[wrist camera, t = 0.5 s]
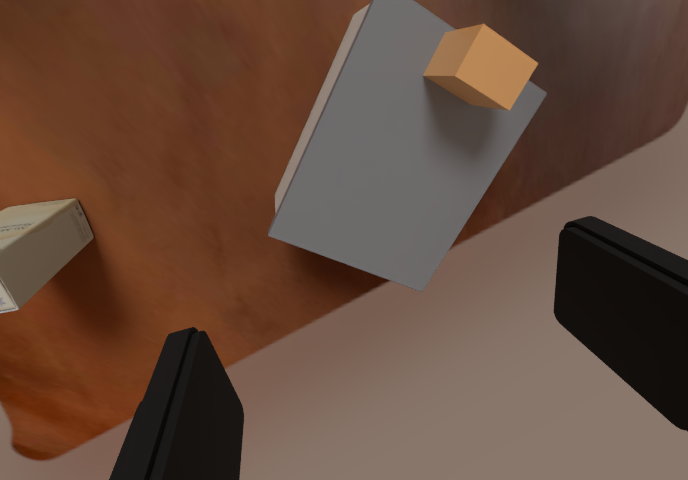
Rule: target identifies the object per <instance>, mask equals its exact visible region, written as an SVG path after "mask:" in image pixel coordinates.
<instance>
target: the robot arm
mask: <svg viewBox="0 0 688 480" xmlns="http://www.w3.org/2000/svg"><path fill="white" fill-rule="evenodd" d="M554 314H555V317H556V319H557V320H558V322H559V323H560V324H561V325H562V326H563V327H564V328H566V329H567V330H568V331H569V332H570V333H571V334H572V335H573V336H575V337H576V338H577V339H578V340H579V341H580V342H582V344H584V345H585V346H586V347H587V348H588V349H589V350H590V351H591V352H593V353H594V354H595V355H596V356H597V357H598V358H599V359H600V360H602V361H603V362H604V363H605V364H606V365H607V366H608V367H609V368H611V369H612V370H613V371H614V372H615V373H616V374H617V375H619V376H620V377H621V378H622V379H623V380H624V381H625V382H626V383H627V384H629V385H630V386H631V387H632V388H633V389H634V390H635V391H636V392H638V393H639V394H640V395H641V396H642V397H643V398H644V399H645V400H647V401H648V402H649V403H650V404H651V405H652V406H653V407H654V408H656V409H657V410H658V411H659V412H660V413H661V414H662V415H663V416H665V417H666V418H667V419H668V420H669V421H670V422H671V423H672V424H674V425H675V426H676V427H678V428H680V429H682V430H687V431H688V260H686V259H684V258H682V257H680V256H678V255H675V254H673V253H671V252H669V251H667V250H665V249H663V248H660V247H658V246H656V245H654V244H651V243H650V242H647V241H645V240H643V239H641V238H639V237H637V236H635V235H632V234H630V233H628V232H626V231H624V230H622V229H619V228H617V227H615V226H613V225H611V224H608V223H606V222H604V221H602V220H600V219H598V218H596V217H592V216H588V217H584V218H581V219H578V220H574V221H570V222H568V223H566V224H565V226H564V229H563V230H561V232H560V235H559V246H558V261H557V273H556V288H555V301H554ZM243 424H244V413H243V407H242V404H241V402H240V400H239V398H238V396H237V394H236V392H235V390H234V388H233V386H232V384H231V382H230V379H229V377H228V376H227V374H226V371H225V369H224V367H223V365H222V363H221V361H220V359H219V357H218V355H217V353H216V351H215V349H214V347H213V345H212V343H211V341H210V339H209V337H208V335H207V334H206V332H205V331H199V332H198V330H197V329H196V328H194V327H192V328H188V329H184V330H181V331H177V332H174V333H171V334H169V335H168V336H167V338H166V341H165V344H164V346H163V349H162V351H161V354H160V357H159V359H158V362H157V365H156V367H155V370H154V372H153V375H152V378H151V380H150V383H149V385H148V388H147V391H146V393H145V396H144V398H143V401H141V402H140V404H139V406H138V408H137V410H136V412H135V415H134V417H133V420H132V423H131V425H130V428H129V430H128V433H127V435H126V438H125V441H124V443H123V446H122V448H121V451H120V453H119V456H118V458H117V461H116V463H115V466H114V469H113V471H112V474H111V476H110V479H109V480H239V475H240V463H241V450H242V436H243Z"/></svg>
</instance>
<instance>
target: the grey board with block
mask: <svg viewBox="0 0 688 480" xmlns="http://www.w3.org/2000/svg"><path fill="white" fill-rule="evenodd" d="M537 65H538V63H537V62H536V61H535V60H533V59H532V58H530V57H529V56H528V55H526V54H525V53H524V52H522V51H521V50H519V49H518V48H517V47H515V46H514V45H512V44H511V43H510V42H508V41H507V40H506V39H504V38H503V37H501V36H500V35H499V34H497V33H496V32H494V31H493V30H492V29H490V28H489V27H488V26H486V25H485V24H480V25H476V26H471V27H467V28H462V29H458V30H455V29H454V28H453V27H451V26H450V25H448V24H447V23H445V22H444V21H442V20H441V19H440V18H438V17H437V16H435V15H434V14H432V13H431V12H429V11H428V10H427V9H425V8H424V7H422V6H421V5H419V4H418V3H417V2H415V1H414V0H371V2H370V4H369V7H368V9H367V11H366V13H365V16H364V18H363V20H362V22H361V25H360V27H359V29H358V31H357V34H356V36H355V38H354V40H353V42H352V45H351V47H350V49H349V51H348V54H347V56H346V58H345V60H344V63H343V65H342V67H341V69H340V71H339V74H338V76H337V78H336V80H335V83H334V85H333V87H332V89H331V92H330V94H329V96H328V98H327V101H326V103H325V105H324V107H323V109H322V112H321V114H320V116H319V118H318V121H317V123H316V125H315V127H314V130H313V132H312V134H311V136H310V139H309V141H308V143H307V145H306V147H305V150H304V152H303V154H302V156H301V159H300V161H299V163H298V165H297V168H296V170H295V172H294V174H293V177H292V179H291V181H290V183H289V185H288V188H287V190H286V192H285V194H284V197H283V199H282V201H281V203H280V206H279V208H278V210H277V212H276V214H275V217H274V219H273V221H272V223H271V226H270V228H269V230H268V236H270V237H273V238H276V239H278V240H281V241H284V242H287V243H289V244H292V245H295V246H298V247H300V248H303V249H306V250H309V251H311V252H314V253H317V254H320V255H322V256H325V257H328V258H331V259H333V260H336V261H339V262H341V263H344V264H347V265H350V266H352V267H355V268H358V269H361V270H363V271H366V272H369V273H372V274H374V275H377V276H380V277H383V278H385V279H388V280H391V281H393V282H396V283H399V284H402V285H405V286H407V287H410V288H413V289H416V290H418V291H421V292H422V291H423V290H424V288H425V286H426V285H427V283H428V282H429V280H430V279H431V277H432V276H433V274H434V272H435V271H436V269H437V267H438V266H439V265H440V263H441V261H442V260H443V258H444V257H445V255H446V253H447V252H448V250H449V249H450V247H451V245H452V244H453V242H454V241H455V239H456V238H457V236H458V234H459V233H460V231H461V230H462V228H463V226H464V225H465V223H466V222H467V220H468V219H469V217H470V215H471V214H472V212H473V211H474V209H475V207H476V206H477V204H478V203H479V201H480V199H481V198H482V196H483V195H484V193H485V192H486V190H487V188H488V187H489V185H490V184H491V182H492V180H493V179H494V177H495V176H496V174H497V173H498V171H499V169H500V168H501V166H502V165H503V163H504V161H505V160H506V158H507V157H508V155H509V153H510V152H511V150H512V149H513V147H514V146H515V144H516V142H517V141H518V139H519V138H520V136H521V134H522V133H523V131H524V130H525V128H526V127H527V125H528V123H529V122H530V120H531V119H532V117H533V115H534V114H535V112H536V111H537V109H538V107H539V106H540V104H541V103H542V101H543V100H544V98H545V96H546V95H547V93H546V92H545V91H544V90H542V89H541V88H539V87H538V86H536V85H535V84H533V83H532V82H531V81H529V78H530V76H531V75H532V73H533V71H534V70H535V68H536V66H537Z"/></svg>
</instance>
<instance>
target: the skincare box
mask: <svg viewBox="0 0 688 480" xmlns="http://www.w3.org/2000/svg"><path fill="white" fill-rule="evenodd" d="M93 238H94V236H93V234H92V231H91V229H90V226H89V224H88V222H87V220H86V217H85V215H84V213H83V211H82V208H81V206H80V204H79V202H78V200H77V199H66V200H58V201H50V202H42V203H34V204H27V205H20V206H13V207H8V208H6V209H4V210H2V211H0V313H4V312H9V311H15V310H19V309H20V308H21V307H22V306H23V305H24V304H25V303H26V302H27V301H28V300H29V299H30V298H31V297H32V296H33V295H34V294H35V293H36V292H37V291H38V290H40V289H41V288H42V287H43V286H44V285H45V284H46V283H47V282H48V281H49V280H50V279H51V278H52V277H53V276H54V275H55V274H56V273H57V272H58V271H59V270H60V269H62V268H63V267H64V266H65V265H66V264H67V263H68V262H69V261H70V260H71V259H72V258H73V257H74V256H75V255H76V254H77V253H78V252H80V251H81V250H82V249H83V248H84V247H85V246H86V245H87V244H88V243H89V242H90V241H91V240H92V239H93Z"/></svg>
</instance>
